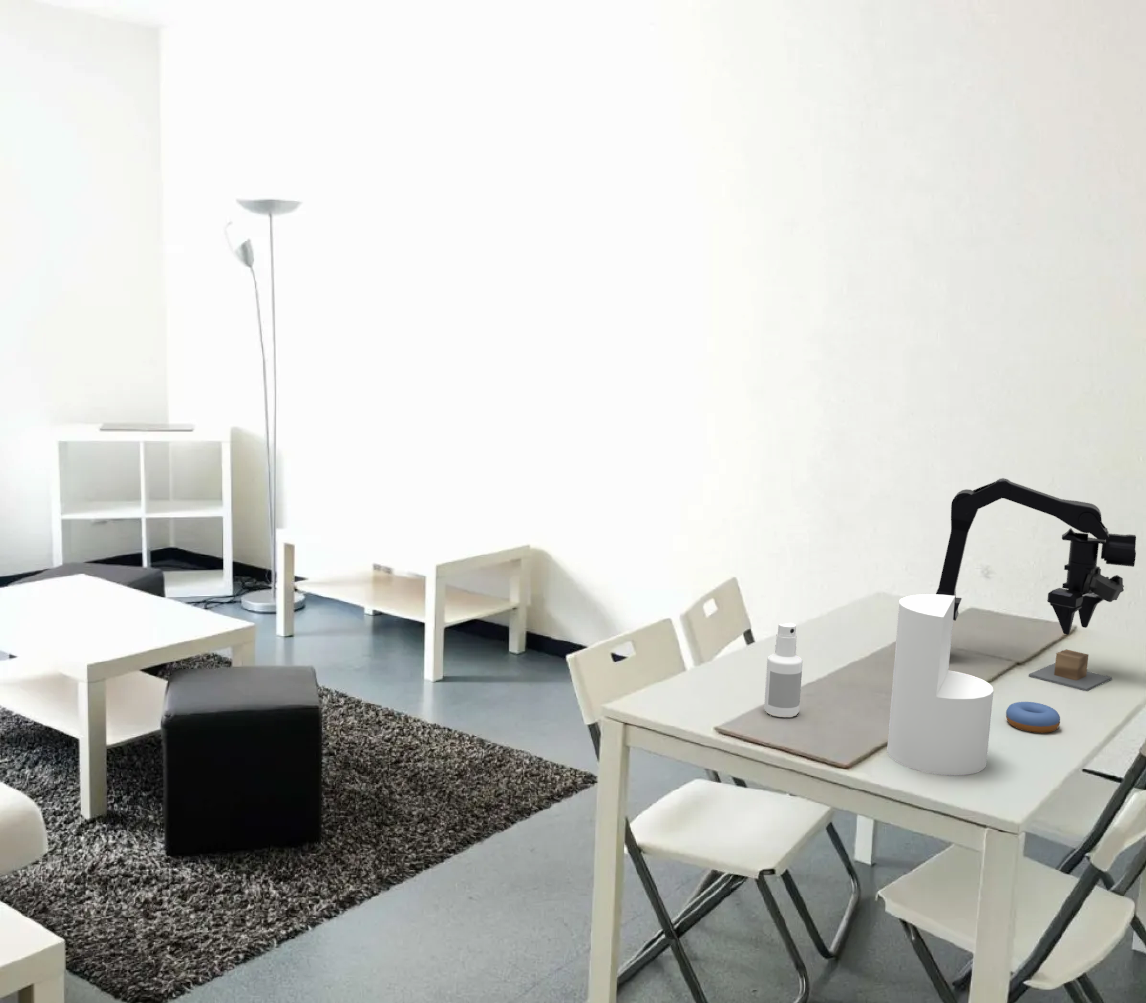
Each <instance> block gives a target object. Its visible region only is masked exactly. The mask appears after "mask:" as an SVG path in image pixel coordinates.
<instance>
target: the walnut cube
mask: <svg viewBox="0 0 1146 1003" xmlns="http://www.w3.org/2000/svg"><path fill="white" fill-rule="evenodd" d="M1088 662H1089V654H1088V653H1084V652H1080V651H1075V650H1070V649H1063V650H1061V651H1059V652H1056V653H1055V662H1054V663H1055V672H1054V675H1056V676H1060V677H1064V678H1068V679H1072V680H1076V681H1077V680H1079V679H1081V678H1083V677H1086V673H1087V671H1088V664H1089V663H1088Z"/></svg>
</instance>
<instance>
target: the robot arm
mask: <svg viewBox="0 0 1146 1003" xmlns="http://www.w3.org/2000/svg"><path fill="white" fill-rule="evenodd" d="M1001 499H1004V500H1008V501H1010V502H1013V503H1015V504H1018V505H1022V506H1025V507H1028V508H1030V509H1033V510H1036V511H1039V512H1042V513H1044V514H1048V515H1050V516H1053V517H1055V518H1056V519H1058V520H1060V521H1062V522H1063V523H1065V524H1066V525H1068V526H1069V527H1071V528H1069V529H1068V530H1067V531H1066V532H1065V533H1063V534H1061V539H1062V541H1068V542H1070V543H1069V553H1068V563H1067V564H1064V568H1063V570H1065V571H1067V573H1066V581H1065V582H1063V583H1062V587H1058V588H1055V589H1052V590H1050V592H1048V593H1047V599H1046V600H1047V603H1049V605H1050V606H1051V607H1052V608H1053V611H1054V613H1055V615H1056V618H1057V620H1058V623H1059V625H1060V627H1061V630H1062V632H1063V634H1064V635H1068V636H1069V635H1070V633H1071V630H1072V625H1073V622H1074V618H1075V614H1076V612H1078V616H1079V621H1080V625H1081V627H1082V628H1088V626H1089V625H1090V622H1091V619H1092V617H1093V614H1094V613H1095V610H1096V608H1097V606H1098V604H1100V603H1102V602H1103V601H1106V602H1108V603H1112V602H1113V601H1117V600H1118V598H1119V597H1120V595H1121V593H1123V592H1124V590H1125V589H1124V588H1125V585H1124V583H1123V582H1124V578H1123V577H1121V576H1120V575H1118V574H1117V575H1114V576H1112V577H1109V576H1104V575H1102V574H1101V572H1102V569H1101V568H1100V567H1101V566H1097V564H1098V554H1099V546H1100V544H1101V552H1100V559H1101V560H1103V561H1104V562H1105V565H1110V566H1111V565H1113V566H1123V567H1133V568H1134V567H1135V564H1136V558H1137V557H1136V555H1137V550H1136V545H1137V544H1136V542H1137V541H1136V540H1137V536H1136V534H1117V533H1110V532H1109V531H1108V528H1107V527H1106V526H1105V524H1104V523H1103V522H1102V521H1103V520H1102V519H1103V518H1102V512H1101V510H1100V508H1099V507H1098V506H1096V505H1095V504H1093V503H1090V502H1085V501H1079V500H1070V499H1062V498H1059V497H1055V496H1054V495H1051V494H1047V493H1044V492H1042V491H1039V490H1036V489H1033V488H1031V487H1028V486H1024V485H1022V484H1019V483H1016V482H1013V481H1011V480H1009V479H1007V478H1004V477H1002V478H999V479H996V481H994V482H991V483H988V484H985V485H983V486H980V487H978V488H976V489H973V490H972V489H962V490H960V491H959V492H957V493H956V495H955V496H954V497H953V499H952V501H951V506H950V509H951V510H950V529H951V530H950V534H949V539H948V543H947V548H946V551H945V552H946V553H945V558H944V561H943V566H942V570H941V574H940V579H939V584H938V588H937V590H936V593H935V594H939V595H951V596H955V603H954V615H953V622H955V621H957V619H958V617H959V606H960V604H961V601H962V599H963V598H962V597H957V593H956V592H957V590H956V589H957V584H958V580H959V575H960V572H961V568H962V567H961V566H962V562H963V558H964V554H965V549H966V544H967V541H968V536H969V531H970V529H971V527H972V526H973V525H972V524H973V523H974V520H975V518H976V515H977V514H978V511H979V510H980V509H981V508H984V507H987V506H988V505H991V504H992V503H995V502H996V501H999V500H1001ZM1072 528H1074V529H1076V530H1077V531H1079V532H1076V531H1074V530H1073V529H1072ZM1089 535H1092V536H1093V537H1089Z"/></svg>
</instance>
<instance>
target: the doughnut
mask: <svg viewBox="0 0 1146 1003" xmlns="http://www.w3.org/2000/svg"><path fill="white" fill-rule="evenodd" d="M1005 718H1006V721H1007V722H1008V724H1009V725H1011V726H1012V727H1014V728H1016V729H1017V730H1019V731H1020V730H1021V731H1024V732H1028V733H1034V732H1035V733H1036V734H1049V733H1053V732H1054V731H1056V730H1058V728H1059V726H1060V724H1061V716H1060V714H1059V713H1058V711H1057V710H1056V709H1055V708H1054V707H1051V706H1050V705H1046V704H1044V703H1040V702H1035V701H1034V702H1032V701H1018V702H1013V703H1011V704H1010V705H1009V706H1008V707H1007V708H1006V711H1005ZM1035 733H1034V734H1035Z"/></svg>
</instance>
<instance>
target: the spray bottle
mask: <svg viewBox="0 0 1146 1003" xmlns="http://www.w3.org/2000/svg"><path fill="white" fill-rule="evenodd" d="M777 627H778V628H777V634H776V638H775V649H774V652H773V653H771V654H770V655H768V657H767V661H766V674H765V675H766V676H765V693H764V706H763V707H764V708H763V710H764V709H765V710H764V712H765V711H767V712H769V713H772V714H778V715H793V714H797V713H798V712H799V713H800V708H801V692H802V689H801V688H802V675H803V674H802V673H803V662H804V661H803V659H802V658H801V657H800V656H799V655H797V633H796V632H797V631H796V630H797V624H795V623H793V622H786V623H778V625H777Z"/></svg>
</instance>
